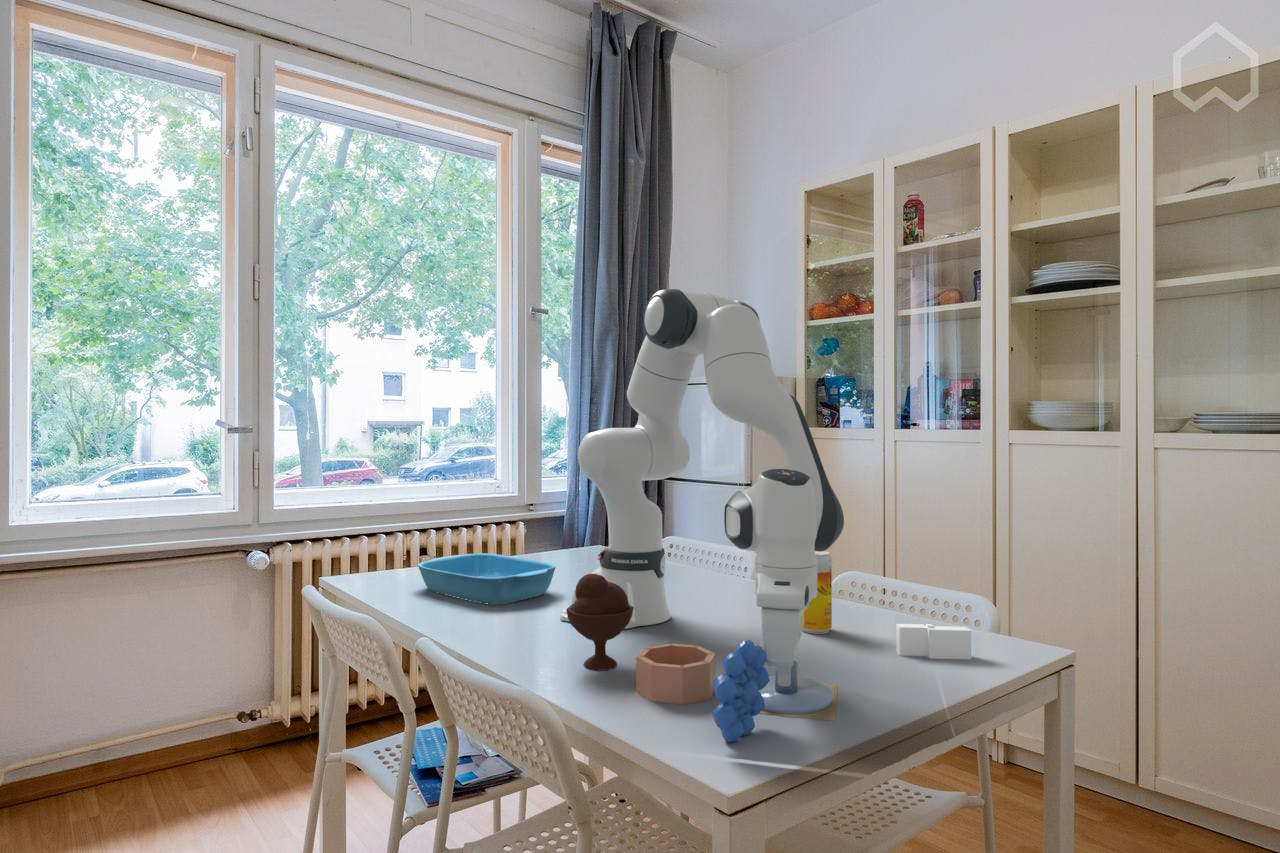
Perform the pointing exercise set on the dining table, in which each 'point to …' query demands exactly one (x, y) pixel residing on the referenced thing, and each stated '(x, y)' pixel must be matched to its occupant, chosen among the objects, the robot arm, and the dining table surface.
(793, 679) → the lid
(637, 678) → the bowl
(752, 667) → the grapes
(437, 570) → the casserole dish
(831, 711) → the plate
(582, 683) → the dining table surface
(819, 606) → the beer can
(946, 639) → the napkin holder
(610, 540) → the robot arm
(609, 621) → the ice cream bowl
